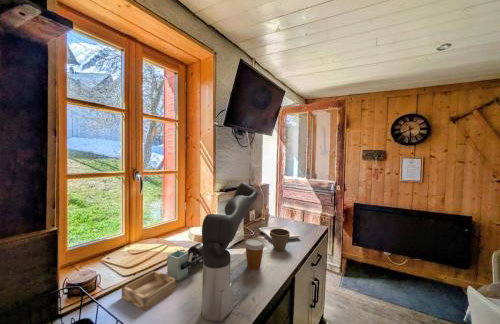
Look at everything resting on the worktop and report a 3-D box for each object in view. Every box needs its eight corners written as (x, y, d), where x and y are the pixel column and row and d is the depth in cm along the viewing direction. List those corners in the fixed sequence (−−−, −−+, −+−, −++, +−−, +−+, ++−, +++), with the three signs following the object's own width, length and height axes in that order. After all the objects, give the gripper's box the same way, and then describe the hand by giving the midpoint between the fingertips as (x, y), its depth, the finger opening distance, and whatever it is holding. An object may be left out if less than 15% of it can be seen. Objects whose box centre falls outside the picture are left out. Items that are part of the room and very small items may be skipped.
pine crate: (176, 289, 87) (177, 279, 87) (145, 310, 75) (145, 299, 75) (154, 279, 94) (154, 270, 93) (121, 297, 81) (122, 287, 81)
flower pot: (280, 255, 120) (280, 236, 120) (265, 248, 129) (265, 230, 129) (293, 249, 128) (293, 232, 128) (278, 243, 137) (279, 227, 136)
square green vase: (187, 275, 97) (188, 253, 97) (177, 282, 92) (177, 258, 92) (177, 271, 100) (178, 249, 100) (167, 278, 95) (167, 255, 95)
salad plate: (284, 229, 164) (284, 224, 164) (301, 240, 144) (301, 235, 144) (258, 232, 156) (258, 227, 156) (271, 243, 136) (271, 238, 136)
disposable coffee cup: (253, 260, 114) (254, 236, 113) (267, 267, 107) (268, 242, 107) (239, 266, 107) (240, 241, 107) (253, 274, 100) (254, 247, 100)
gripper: (189, 240, 112) (162, 252, 97) (212, 246, 105) (186, 260, 91) (189, 255, 112) (162, 269, 98) (211, 262, 105) (186, 278, 91)
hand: (174, 265), depth 94 cm, fingers open, 7 cm apart
